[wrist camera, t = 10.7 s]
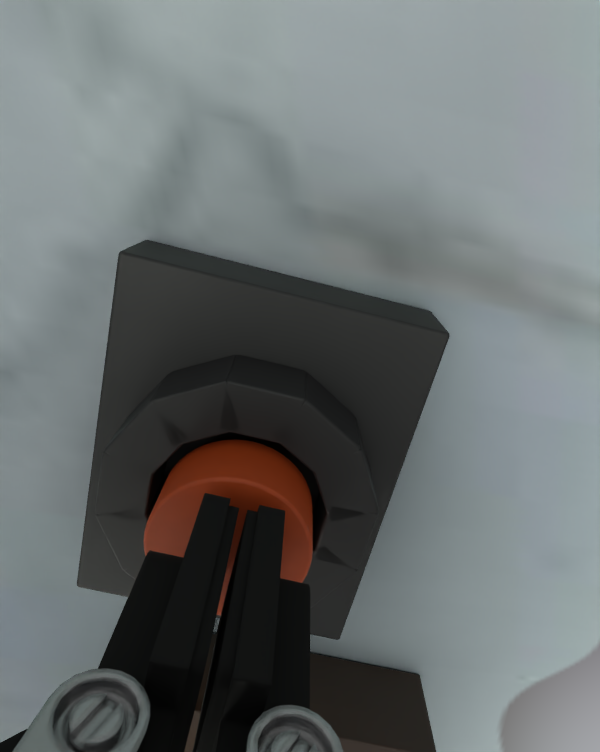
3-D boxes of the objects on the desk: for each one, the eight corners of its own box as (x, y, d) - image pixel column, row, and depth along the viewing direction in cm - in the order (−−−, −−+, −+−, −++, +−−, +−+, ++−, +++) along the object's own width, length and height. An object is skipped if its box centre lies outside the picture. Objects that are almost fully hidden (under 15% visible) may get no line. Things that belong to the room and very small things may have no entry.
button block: (336, 588, 19) (343, 695, 15) (102, 539, 18) (47, 637, 14) (432, 311, 15) (472, 358, 11) (145, 238, 14) (87, 263, 11)
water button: (292, 577, 14) (290, 632, 12) (153, 548, 14) (131, 599, 12) (329, 457, 13) (332, 500, 11) (176, 422, 12) (156, 461, 11)
